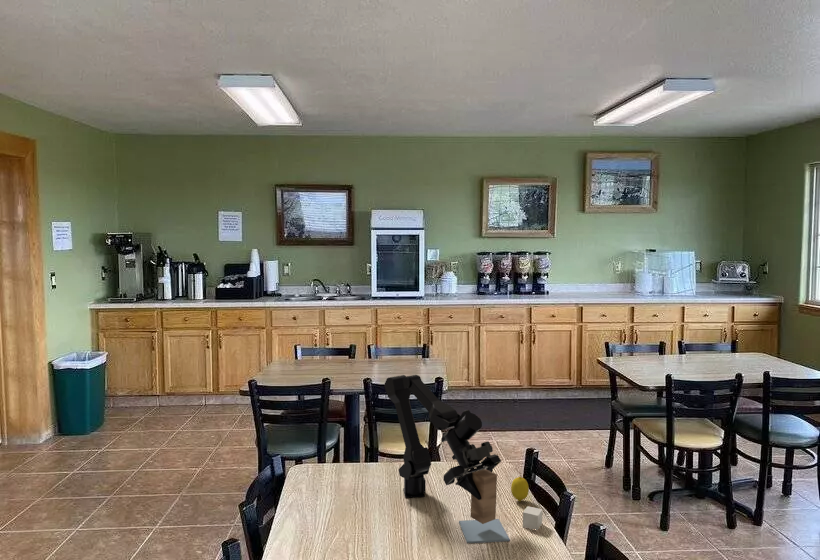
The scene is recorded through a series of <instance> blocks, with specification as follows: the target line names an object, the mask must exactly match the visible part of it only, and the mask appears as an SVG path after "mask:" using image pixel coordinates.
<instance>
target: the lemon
mask: <svg viewBox="0 0 820 560" xmlns="http://www.w3.org/2000/svg"><path fill="white" fill-rule="evenodd" d="M529 488H530V487H529V483H528V481H527V479H525V478H524V477H522V476H518V477H515V478H514V479H513V480H512V483H511V485H510V492H511V496H512V497H513V499H515V500H516V501H518V502H521V501H523V500H525V499H526V498H527V497H528V496H529V492H530V491H529Z"/></svg>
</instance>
